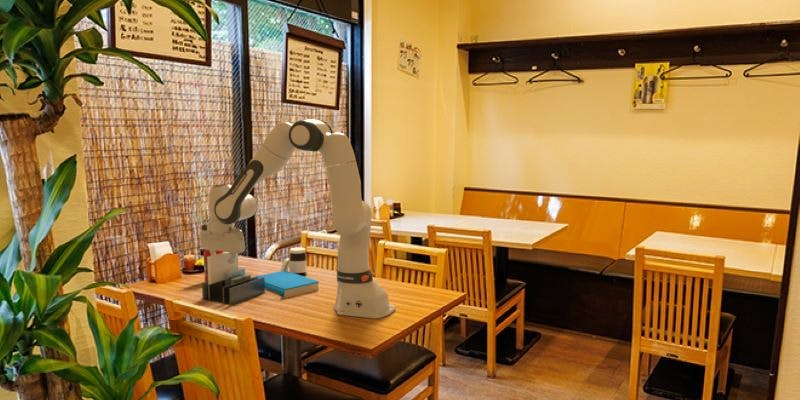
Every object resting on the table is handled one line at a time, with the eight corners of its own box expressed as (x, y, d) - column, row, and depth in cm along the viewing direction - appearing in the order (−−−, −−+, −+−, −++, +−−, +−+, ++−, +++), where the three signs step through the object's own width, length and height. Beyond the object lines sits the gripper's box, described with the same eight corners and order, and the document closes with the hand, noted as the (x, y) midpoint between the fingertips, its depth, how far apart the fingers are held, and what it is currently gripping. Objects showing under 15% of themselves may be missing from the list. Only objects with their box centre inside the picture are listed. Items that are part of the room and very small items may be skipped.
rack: (266, 295, 213) (265, 270, 211) (232, 308, 197) (231, 281, 196) (235, 290, 220) (234, 265, 219) (200, 301, 204) (199, 275, 203)
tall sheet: (239, 289, 216) (237, 250, 215) (211, 298, 204) (210, 257, 202) (236, 289, 217) (234, 249, 215) (208, 298, 205) (207, 256, 203)
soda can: (218, 285, 227) (217, 250, 225) (201, 284, 228) (199, 249, 226) (227, 280, 234) (226, 246, 232) (210, 279, 236) (209, 245, 234)
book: (284, 270, 239) (319, 280, 221) (284, 279, 239) (319, 290, 222) (249, 277, 226) (283, 288, 209) (250, 287, 227) (284, 299, 210)
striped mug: (307, 276, 242) (307, 250, 240) (281, 277, 239) (280, 252, 238) (305, 270, 253) (305, 245, 252) (281, 271, 251) (280, 246, 249)
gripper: (248, 227, 205) (249, 263, 207) (209, 223, 215) (210, 257, 217) (236, 230, 200) (237, 266, 202) (196, 225, 209) (198, 260, 211)
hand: (223, 262), depth 209 cm, fingers open, 7 cm apart
